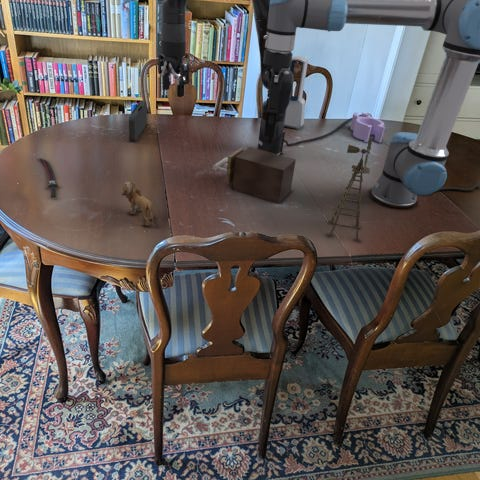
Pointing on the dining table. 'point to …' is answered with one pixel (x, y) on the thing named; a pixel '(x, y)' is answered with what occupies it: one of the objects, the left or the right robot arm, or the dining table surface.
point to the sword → (52, 181)
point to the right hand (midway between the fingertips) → (268, 128)
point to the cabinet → (263, 174)
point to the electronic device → (297, 98)
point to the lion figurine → (137, 201)
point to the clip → (367, 127)
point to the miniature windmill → (356, 171)
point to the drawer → (228, 165)
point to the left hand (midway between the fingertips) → (173, 92)
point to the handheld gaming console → (137, 120)
